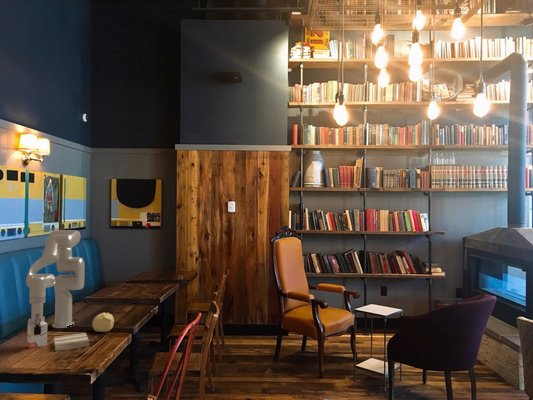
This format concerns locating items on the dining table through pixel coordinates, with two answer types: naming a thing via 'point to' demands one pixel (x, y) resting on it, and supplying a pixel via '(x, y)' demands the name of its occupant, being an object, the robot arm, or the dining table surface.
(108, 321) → the sculpture
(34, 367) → the dining table surface
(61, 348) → the stand
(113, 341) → the dining table surface
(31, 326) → the ink cartridge box
